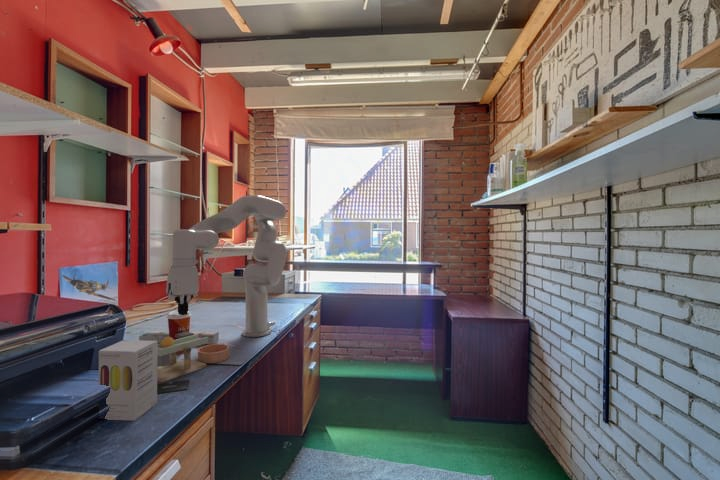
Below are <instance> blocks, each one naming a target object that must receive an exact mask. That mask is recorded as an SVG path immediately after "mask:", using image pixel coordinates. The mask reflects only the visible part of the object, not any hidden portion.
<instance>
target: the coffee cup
mask: <svg viewBox="0 0 720 480" xmlns="http://www.w3.org/2000/svg"><path fill="white" fill-rule="evenodd" d="M191 316H192V313H191V311H190V310H188V314H187V315H180V314H178V309H175V310H171V311H169V312H168V313H167V316H166V318H167V324H168V331H169V337H171V338H173V340H176V339H180V338H177V337H175V334H178V333H182V332H186V331H187V332H189V331H191V330H190V327H191ZM181 354H184V350H181V351H178V352H176V355H181Z"/></svg>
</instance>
